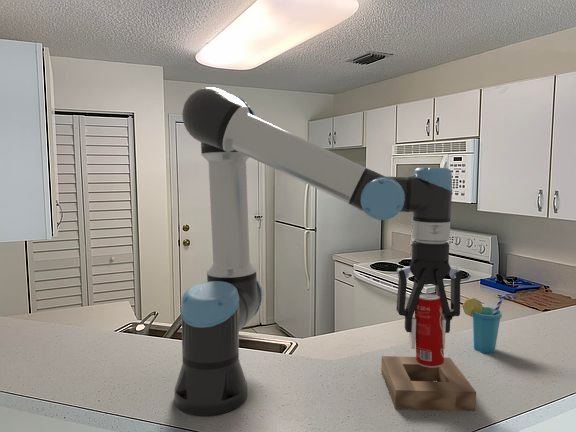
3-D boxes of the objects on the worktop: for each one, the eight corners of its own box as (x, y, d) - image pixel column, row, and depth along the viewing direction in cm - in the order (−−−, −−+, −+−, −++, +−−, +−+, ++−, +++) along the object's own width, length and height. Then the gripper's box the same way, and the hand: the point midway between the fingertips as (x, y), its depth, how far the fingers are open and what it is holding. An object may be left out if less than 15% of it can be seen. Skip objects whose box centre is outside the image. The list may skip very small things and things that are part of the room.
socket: (395, 408, 89) (395, 390, 88) (381, 372, 105) (381, 356, 104) (475, 411, 88) (476, 392, 88) (449, 373, 104) (449, 357, 104)
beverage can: (445, 370, 92) (448, 300, 90) (413, 367, 93) (415, 298, 92) (441, 358, 98) (444, 292, 96) (411, 355, 99) (413, 291, 98)
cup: (503, 342, 123) (506, 290, 121) (520, 354, 115) (524, 298, 114) (455, 344, 121) (458, 291, 120) (469, 356, 114) (472, 300, 112)
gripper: (389, 243, 89) (386, 352, 92) (482, 244, 89) (476, 354, 91) (383, 237, 97) (380, 338, 99) (468, 238, 96) (463, 340, 99)
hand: (426, 346), depth 95 cm, fingers closed on beverage can, 6 cm apart
